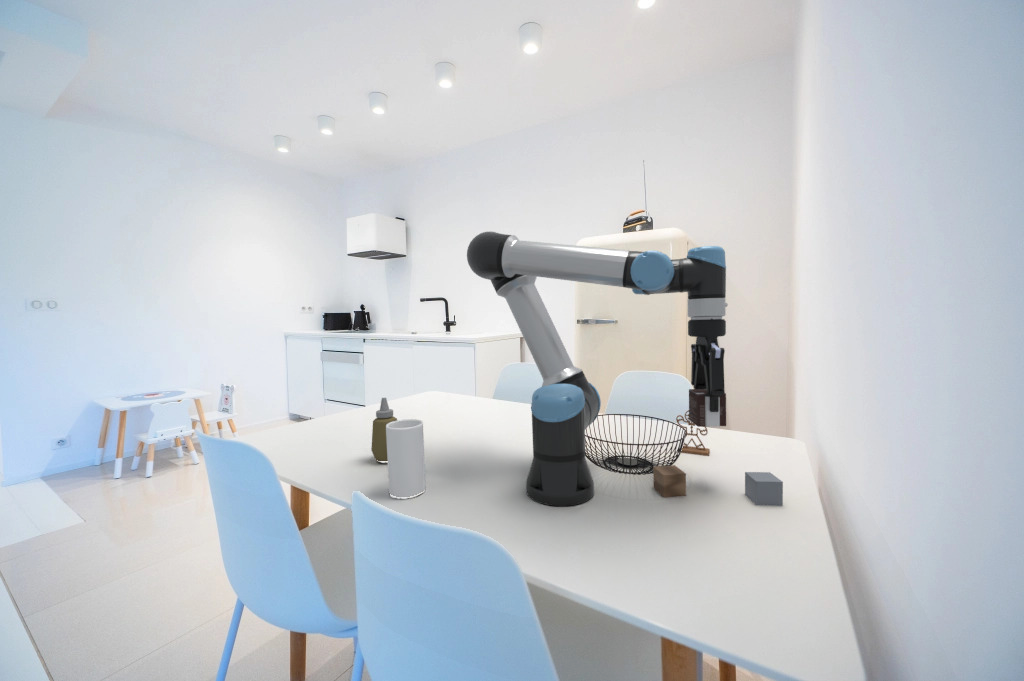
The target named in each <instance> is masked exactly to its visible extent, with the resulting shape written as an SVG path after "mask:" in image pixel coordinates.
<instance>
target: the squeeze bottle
mask: <svg viewBox="0 0 1024 681" xmlns="http://www.w3.org/2000/svg"><path fill="white" fill-rule="evenodd" d="M375 417H376V418H375V419H373V420H372V430H371V432H372V433H371V434H372V435H371V452H372V455H373V457H374V460H375V459H376V460H378V461H388V459H387V439H386V425H387V424H388V423H390V422H393V421H398V419H397V417H395V416H394V410H393V409H392V408H390V406H389V403H388V400H387V397H381V401H380V406H379V409H378V410H376V412H375ZM376 460H375V461H376Z"/></svg>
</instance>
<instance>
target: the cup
mask: <svg viewBox="0 0 1024 681" xmlns="http://www.w3.org/2000/svg"><path fill="white" fill-rule="evenodd" d="M424 436H425V435H424V422H423V421H422V420H420V419H413V418H411V419H409V418H408V419H406V418H405V419H400V420H399V419H397V421H393V422H390V423H388V424H387V425H386V439H387V459H388V463H387V473H388V474H387V476H388V477H387V478H388V494H389V493H390V494H391V495H393V496H396V497H410V496H414V495H417V494H419V493H421V492H423V491H424V490H425V488H426V489H427V485H426V484H427V482H426V464H425V462H426V460H425V441H424V440H425V439H424Z"/></svg>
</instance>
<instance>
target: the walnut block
mask: <svg viewBox="0 0 1024 681" xmlns="http://www.w3.org/2000/svg"><path fill="white" fill-rule="evenodd" d="M652 467H653V468H652V469H653V470H652V474H653V476H652V478H653V480H652V481H653V489H654V490H655V491H656V492H657V493H658V494H659V495H660V496H661V497H663V498H676V497H686V496H687V473H686V472H685V471H683V470H682V469H680V468H679V467H678V466H676V465H675V464H672V465H671V464H670V465H659V466H657V465H656V466H652Z"/></svg>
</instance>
